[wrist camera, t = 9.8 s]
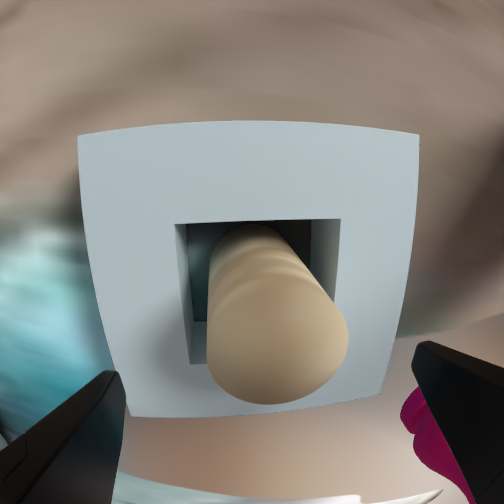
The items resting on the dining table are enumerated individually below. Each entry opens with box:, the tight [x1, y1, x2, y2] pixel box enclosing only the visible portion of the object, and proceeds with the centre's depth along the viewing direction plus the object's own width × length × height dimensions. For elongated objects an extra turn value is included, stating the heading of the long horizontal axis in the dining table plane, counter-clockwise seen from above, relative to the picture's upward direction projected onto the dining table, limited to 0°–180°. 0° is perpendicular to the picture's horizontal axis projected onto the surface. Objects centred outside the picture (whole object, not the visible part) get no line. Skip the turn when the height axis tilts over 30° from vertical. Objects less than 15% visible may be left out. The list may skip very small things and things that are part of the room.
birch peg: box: [206, 224, 349, 405], centre depth 13 cm, size 4×4×8 cm
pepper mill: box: [400, 387, 476, 504], centre depth 13 cm, size 7×7×20 cm
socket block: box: [78, 121, 419, 418], centre depth 15 cm, size 14×14×4 cm
